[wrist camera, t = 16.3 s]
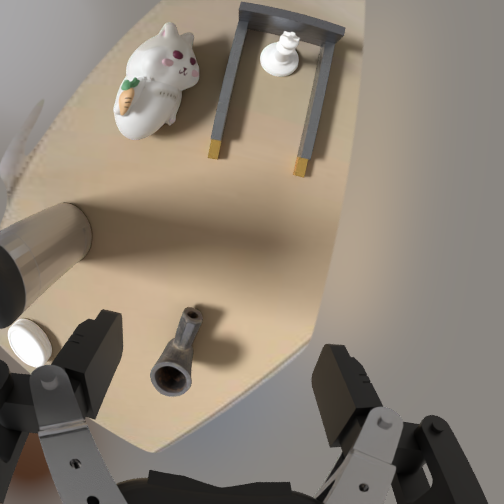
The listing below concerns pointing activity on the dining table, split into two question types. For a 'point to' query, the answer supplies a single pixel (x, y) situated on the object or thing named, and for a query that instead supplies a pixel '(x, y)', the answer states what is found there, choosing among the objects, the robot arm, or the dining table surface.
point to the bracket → (277, 24)
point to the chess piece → (281, 55)
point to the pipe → (177, 357)
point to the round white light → (29, 342)
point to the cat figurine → (155, 83)
